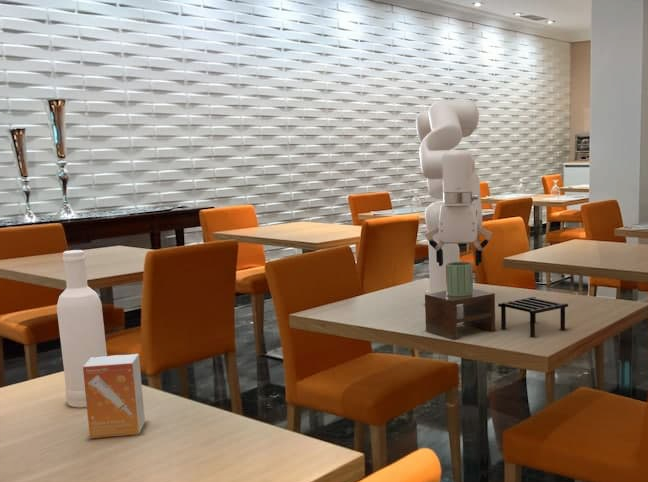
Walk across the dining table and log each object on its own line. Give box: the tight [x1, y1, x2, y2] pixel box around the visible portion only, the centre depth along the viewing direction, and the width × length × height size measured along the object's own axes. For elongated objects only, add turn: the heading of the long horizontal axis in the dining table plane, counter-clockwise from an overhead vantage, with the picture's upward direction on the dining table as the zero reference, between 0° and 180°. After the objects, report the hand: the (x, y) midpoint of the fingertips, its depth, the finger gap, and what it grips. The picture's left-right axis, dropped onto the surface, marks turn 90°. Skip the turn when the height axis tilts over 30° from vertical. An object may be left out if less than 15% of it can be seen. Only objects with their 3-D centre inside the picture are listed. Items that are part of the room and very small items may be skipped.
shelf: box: [424, 288, 496, 340], centre depth 198 cm, size 12×14×10 cm
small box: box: [83, 353, 146, 439], centre depth 131 cm, size 8×6×13 cm
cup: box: [446, 261, 474, 296], centre depth 197 cm, size 7×7×8 cm
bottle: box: [56, 249, 108, 409], centre depth 146 cm, size 8×8×30 cm
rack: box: [497, 296, 569, 338], centre depth 198 cm, size 13×13×7 cm
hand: (459, 265), depth 196 cm, fingers open, 9 cm apart
